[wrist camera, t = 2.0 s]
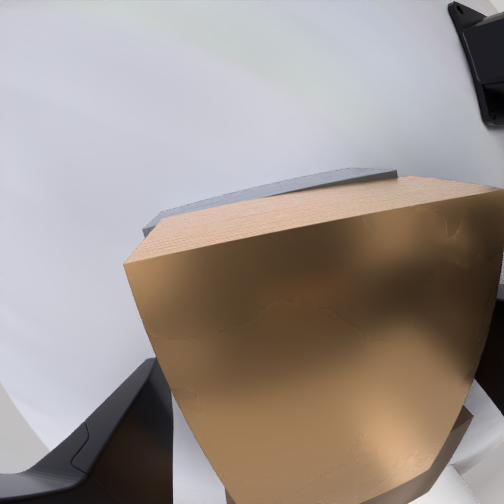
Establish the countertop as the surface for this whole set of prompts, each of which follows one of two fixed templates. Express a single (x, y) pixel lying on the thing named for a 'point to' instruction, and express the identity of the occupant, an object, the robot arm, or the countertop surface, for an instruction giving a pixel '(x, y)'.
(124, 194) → the countertop surface
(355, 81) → the countertop surface
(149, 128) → the countertop surface
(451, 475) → the cylindrical container
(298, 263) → the tan flat block
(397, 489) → the stand
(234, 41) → the countertop surface
